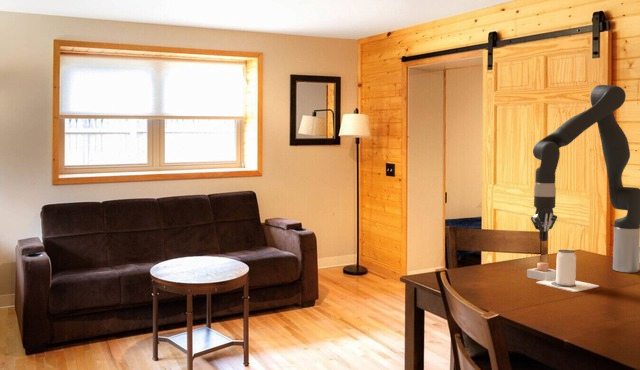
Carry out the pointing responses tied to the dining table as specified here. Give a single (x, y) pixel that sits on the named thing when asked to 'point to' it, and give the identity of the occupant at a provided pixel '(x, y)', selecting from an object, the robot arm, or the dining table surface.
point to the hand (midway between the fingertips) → (543, 240)
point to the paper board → (576, 288)
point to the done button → (542, 267)
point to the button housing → (541, 274)
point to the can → (566, 268)
